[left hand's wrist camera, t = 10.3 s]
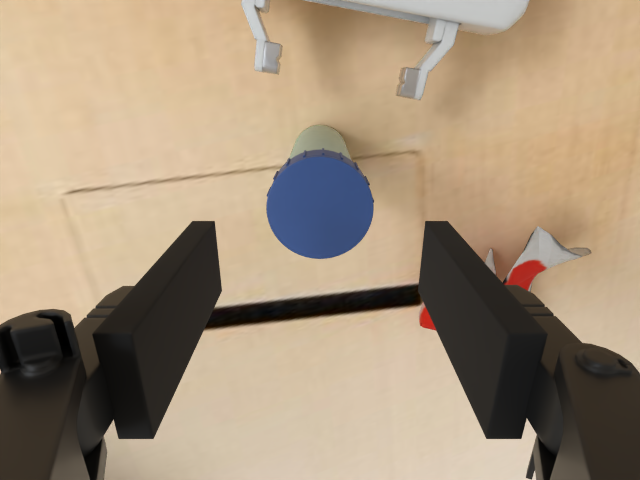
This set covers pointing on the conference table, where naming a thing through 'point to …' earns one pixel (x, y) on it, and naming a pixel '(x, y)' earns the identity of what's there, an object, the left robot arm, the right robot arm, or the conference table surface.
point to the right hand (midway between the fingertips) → (338, 85)
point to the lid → (320, 204)
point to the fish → (526, 264)
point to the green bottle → (320, 141)
